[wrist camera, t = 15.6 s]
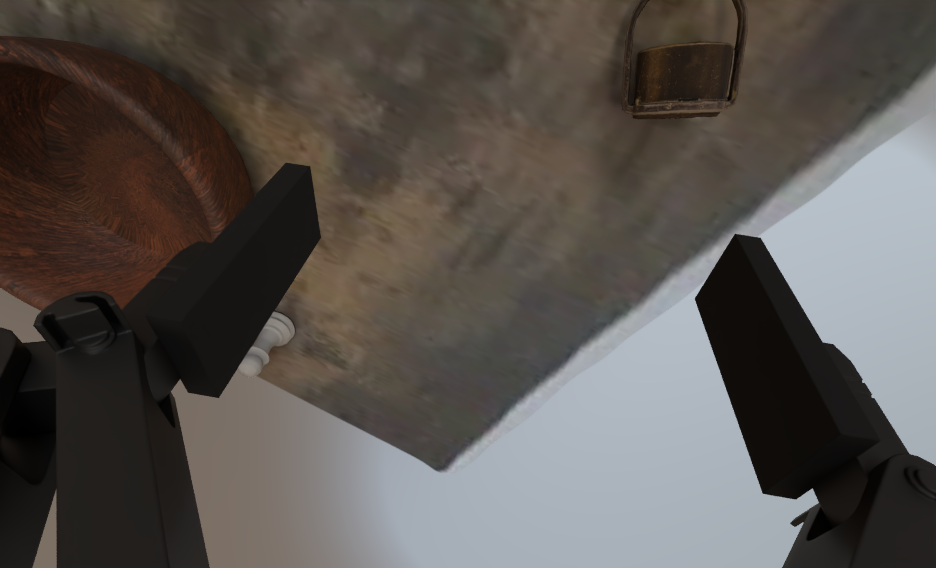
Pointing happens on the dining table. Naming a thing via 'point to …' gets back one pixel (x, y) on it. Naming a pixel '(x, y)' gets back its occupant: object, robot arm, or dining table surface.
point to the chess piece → (267, 344)
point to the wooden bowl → (103, 172)
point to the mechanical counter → (684, 75)
